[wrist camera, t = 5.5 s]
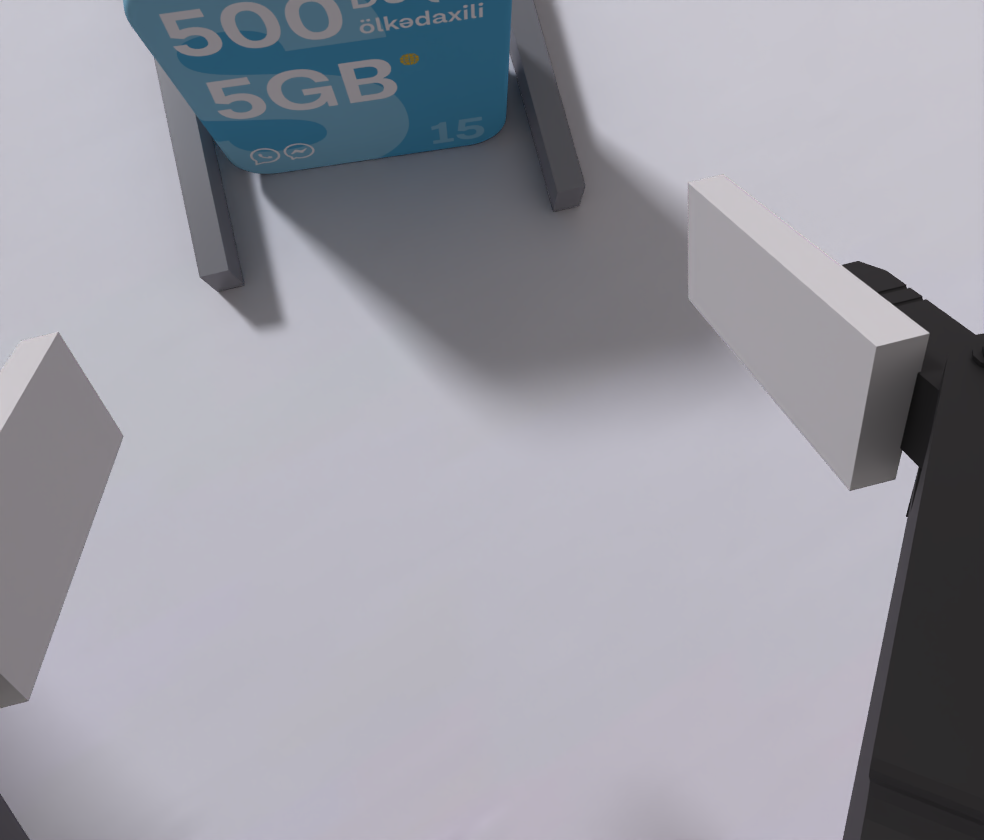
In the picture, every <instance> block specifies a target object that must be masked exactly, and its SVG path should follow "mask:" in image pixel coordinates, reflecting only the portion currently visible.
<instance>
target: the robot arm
mask: <svg viewBox="0 0 984 840" xmlns="http://www.w3.org/2000/svg"><path fill="white" fill-rule="evenodd" d="M688 299H689V300H690V302H691V303H692V304H693V305H694V306H695V308H696V309H697V310H698V311H699V312H700V313H701V315H702V316H703V317H704V318H705V319H706V321H707V322H708V323H709V324H710V325H711V327H712V328H713V329H714V330H715V331H716V333H717V334H718V335H719V336H720V337H721V338H722V340H723V341H724V342H725V343H726V344H727V346H728V347H729V348H730V349H731V350H732V352H733V353H734V354H735V355H736V356H737V358H738V359H739V360H740V361H741V362H742V364H743V365H744V366H745V367H746V368H747V369H748V371H749V372H750V373H751V374H752V375H753V377H754V378H755V379H756V380H757V381H758V383H759V384H760V385H761V386H762V387H763V389H764V390H765V391H766V392H767V393H768V394H769V396H770V397H771V398H772V399H773V400H774V402H775V403H776V404H777V405H778V406H779V408H780V409H781V410H782V411H783V412H784V414H785V415H786V416H787V417H788V418H789V419H790V421H791V422H792V423H793V424H794V425H795V427H796V428H797V429H798V430H799V431H800V433H801V434H802V435H803V436H804V437H805V439H806V440H807V441H808V442H809V443H810V444H811V446H812V447H813V448H814V449H815V450H816V452H817V453H818V454H819V455H820V456H821V458H822V459H823V460H824V461H825V462H826V464H827V465H828V466H829V467H830V468H831V470H832V471H833V472H834V473H835V474H836V475H837V477H838V478H839V479H840V480H841V481H842V483H843V484H844V485H845V486H846V487H847V489H848V490H849V491H852V490H855V489H859V488H863V487H867V486H871V485H875V484H879V483H883V482H887V481H891V480H895V478H896V474H897V470H898V466H899V462H900V457H901V453H902V450H903V451H904V452H905V453H906V454H907V455H908V456H909V457H910V458H911V459H912V460H913V461H914V462H915V463H916V464H917V465H918V466H919V468H918V472H917V476H916V480H915V484H914V487H913V491H912V495H911V499H910V503H909V507H908V510H907V514H906V517H908V518H907V523H906V528H905V533H904V538H903V543H902V548H901V553H900V558H899V563H898V568H897V573H896V578H895V583H894V588H893V593H892V598H891V603H890V608H889V613H888V618H887V623H886V627H885V632H884V637H883V642H882V647H881V652H880V657H879V662H878V667H877V672H876V677H875V682H874V687H873V692H872V697H871V702H870V707H869V712H868V717H867V722H866V727H865V732H864V736H863V741H862V746H861V751H860V756H859V761H858V766H857V771H856V776H855V781H854V786H853V791H852V796H851V801H850V806H849V811H848V816H847V821H846V826H845V831H844V836H843V840H984V334H978V335H975V334H974V333H972V332H971V331H970V330H968V329H967V328H965V327H964V326H963V325H961V324H960V323H958V322H957V321H956V320H954V319H953V318H952V317H950V316H949V315H947V314H946V313H945V312H943V311H942V310H940V309H939V308H938V307H936V306H935V305H933V304H932V303H931V302H929V301H928V300H923V299H922V296H921V295H920V294H918V293H917V292H915V291H914V290H913V289H911V288H907V287H906V284H904V283H903V282H901V281H900V280H899V279H897V278H896V277H894V276H893V275H892V274H890V273H889V272H888V271H886V270H883V269H880V268H877V267H874V266H871V265H868V264H865V263H862V262H860V261H856V262H852V263H848V264H844V265H840V264H839V263H838V262H837V261H835V260H834V259H833V258H831V257H830V256H829V255H827V254H826V253H825V252H824V251H822V250H821V249H820V248H818V247H817V246H816V245H815V244H813V243H812V242H811V241H809V240H808V239H807V238H805V237H804V236H803V235H802V234H800V233H799V232H798V231H796V230H795V229H794V228H792V227H791V226H790V225H789V224H787V223H786V222H785V221H783V220H782V219H781V218H780V217H778V216H777V215H776V214H774V213H773V212H772V211H770V210H769V209H768V208H767V207H765V206H764V205H763V204H761V203H760V202H759V201H757V200H756V199H755V198H754V197H752V196H751V195H750V194H748V193H747V192H746V191H744V190H743V189H742V188H741V187H739V186H738V185H737V184H735V183H734V182H733V181H732V180H730V179H729V178H728V177H726V176H725V175H724V174H722V175H717V176H713V177H709V178H705V179H700V180H696V181H692V182H688ZM122 439H123V434H122V433H121V431H120V429H119V428H118V426H117V425H116V423H115V421H114V420H113V418H112V417H111V415H110V414H109V412H108V410H107V409H106V407H105V406H104V404H103V402H102V401H101V399H100V398H99V396H98V394H97V393H96V391H95V390H94V388H93V386H92V385H91V383H90V382H89V380H88V378H87V377H86V375H85V374H84V372H83V370H82V369H81V367H80V366H79V364H78V362H77V361H76V359H75V358H74V356H73V354H72V353H71V351H70V350H69V348H68V346H67V345H66V343H65V342H64V340H63V338H62V337H61V335H60V334H59V332H55V333H51V334H47V335H42V336H38V337H34V338H30V339H25V340H21V341H20V342H19V343H18V345H17V346H16V348H15V350H14V351H13V353H12V354H11V356H10V357H9V359H8V360H7V362H6V363H5V365H4V366H3V368H2V370H1V371H0V708H3V707H7V706H11V705H15V704H19V703H23V702H27V701H29V699H30V696H31V693H32V690H33V687H34V685H35V682H36V679H37V676H38V673H39V671H40V668H41V665H42V662H43V660H44V657H45V654H46V651H47V648H48V646H49V643H50V640H51V637H52V634H53V632H54V629H55V626H56V623H57V620H58V618H59V615H60V612H61V609H62V607H63V604H64V601H65V598H66V595H67V593H68V590H69V587H70V584H71V581H72V579H73V576H74V573H75V570H76V567H77V565H78V562H79V559H80V556H81V554H82V551H83V548H84V545H85V542H86V540H87V537H88V534H89V531H90V528H91V526H92V523H93V520H94V517H95V514H96V512H97V509H98V506H99V503H100V501H101V498H102V495H103V492H104V489H105V487H106V484H107V481H108V478H109V475H110V473H111V470H112V467H113V464H114V461H115V459H116V456H117V453H118V450H119V448H120V445H121V442H122ZM0 840H29V838H28V836H27V835H26V833H25V832H24V830H23V829H22V827H21V825H20V824H19V822H18V821H17V819H16V818H15V816H14V815H13V813H12V811H11V810H10V808H9V807H8V805H7V804H6V802H5V800H4V799H3V797H2V796H1V794H0Z"/></svg>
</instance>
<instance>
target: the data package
mask: <svg viewBox="0 0 984 840" xmlns="http://www.w3.org/2000/svg"><path fill="white" fill-rule="evenodd" d="M123 3H124V10H125V14H126V17H127V19H128V21H129V23H130V24H131V26H132V27H133V29H134V30H135V32H136V33H137V34H138V36H139V37H140V38H141V40H142V41H143V43H144V44H145V45H146V47H147V48H148V49H149V51H150V52H151V54H152V55H153V56H154V58H155V59H156V60H157V62H158V63H159V65H160V66H161V67H162V69H163V70H164V71H165V73H166V74H167V76H168V77H169V78H170V80H171V81H172V82H173V84H174V85H175V87H176V88H177V89H178V91H179V92H180V93H181V95H182V96H183V98H184V99H185V100H186V102H187V103H188V104H189V106H190V107H191V109H192V110H193V111H194V113H195V114H196V115H197V117H198V118H199V120H200V121H201V122H202V124H203V125H204V126H205V128H206V129H207V131H208V132H209V133H210V135H211V136H212V137H213V139H214V140H215V142H216V143H217V144H218V146H219V147H220V148H221V150H222V151H223V153H224V154H225V155H226V157H227V158H228V160H229V161H230V162H231V163H232V164H234V165H235V166H237V167H238V168H240V169H243V170H245V171H249V172H253V173H261V174H274V173H282V172H288V171H295V170H302V169H309V168H316V167H323V166H330V165H336V164H343V163H350V162H357V161H364V160H371V159H377V158H384V157H391V156H398V155H405V154H412V153H419V152H425V151H432V150H439V149H446V148H453V147H460V146H466V145H472V144H477V143H480V142H483V141H485V140H487V139H490V138H491V137H493V136H494V135H496V134H497V133H498V132H499V131H500V130H501V129H502V128H503V126H504V124H505V121H506V111H507V91H508V71H509V51H510V31H511V12H512V0H123Z"/></svg>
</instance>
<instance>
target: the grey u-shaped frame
mask: <svg viewBox="0 0 984 840" xmlns="http://www.w3.org/2000/svg"><path fill="white" fill-rule="evenodd" d="M510 55H511V59H512V62H513V66H514V70H515V73H516V77H517V81H518V84H519V88H520V92H521V95H522V99H523V103H524V106H525V110H526V114H527V117H528V121H529V125H530V128H531V132H532V136H533V139H534V143H535V147H536V150H537V154H538V158H539V161H540V165H541V169H542V172H543V176H544V180H545V183H546V187H547V190H548V194H549V198H550V201H551V205H552V209H553V212H555V211H559V210H563V209H567V208H571V207H576V206H579V205H580V202H581V198H582V195H583V192H584V189H585V183H584V179H583V176H582V172H581V168H580V165H579V161H578V158H577V154H576V151H575V147H574V144H573V140H572V136H571V133H570V129H569V126H568V122H567V119H566V115H565V111H564V108H563V104H562V101H561V97H560V94H559V90H558V86H557V83H556V79H555V76H554V72H553V69H552V65H551V61H550V58H549V54H548V51H547V47H546V44H545V40H544V37H543V33H542V29H541V26H540V22H539V19H538V15H537V12H536V8H535V4H534V1H533V0H512V12H511V31H510ZM154 60H155V65H156V70H157V74H158V79H159V84H160V89H161V94H162V98H163V103H164V108H165V113H166V118H167V122H168V127H169V132H170V137H171V142H172V146H173V151H174V156H175V161H176V166H177V170H178V175H179V180H180V185H181V190H182V195H183V199H184V204H185V209H186V214H187V219H188V223H189V228H190V233H191V238H192V243H193V247H194V252H195V257H196V262H197V267H198V271H199V276H200V278H201V279H203V280H204V281H205V282H206V283H207V284H209V285H210V286H211V287H212V288H214V289H215V290H216V291H217V292H218V291H222V290H226V289H231V288H235V287H239V286H243V285H244V282H243V277H242V272H241V268H240V263H239V258H238V254H237V249H236V244H235V240H234V235H233V231H232V226H231V221H230V217H229V212H228V207H227V203H226V198H225V193H224V189H223V184H222V180H221V175H220V170H219V166H218V161H217V156H216V152H215V147H214V142H213V138H212V136H211V135H210V133H209V132H208V131H207V129H206V128H205V126H204V125H203V124H202V122H201V121H200V120H199V118H198V117H197V115H196V114H195V113H194V111H193V110H192V109H191V107H190V106H189V104H188V103H187V102H186V100H185V99H184V98H183V96H182V95H181V93H180V92H179V91H178V89H177V88H176V87H175V85H174V84H173V82H172V81H171V80H170V78H169V77H168V76H167V74H166V73H165V71H164V70H163V69H162V67H161V66H160V65H159V63H158V62H157V60H156V59H155V58H154Z"/></svg>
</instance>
